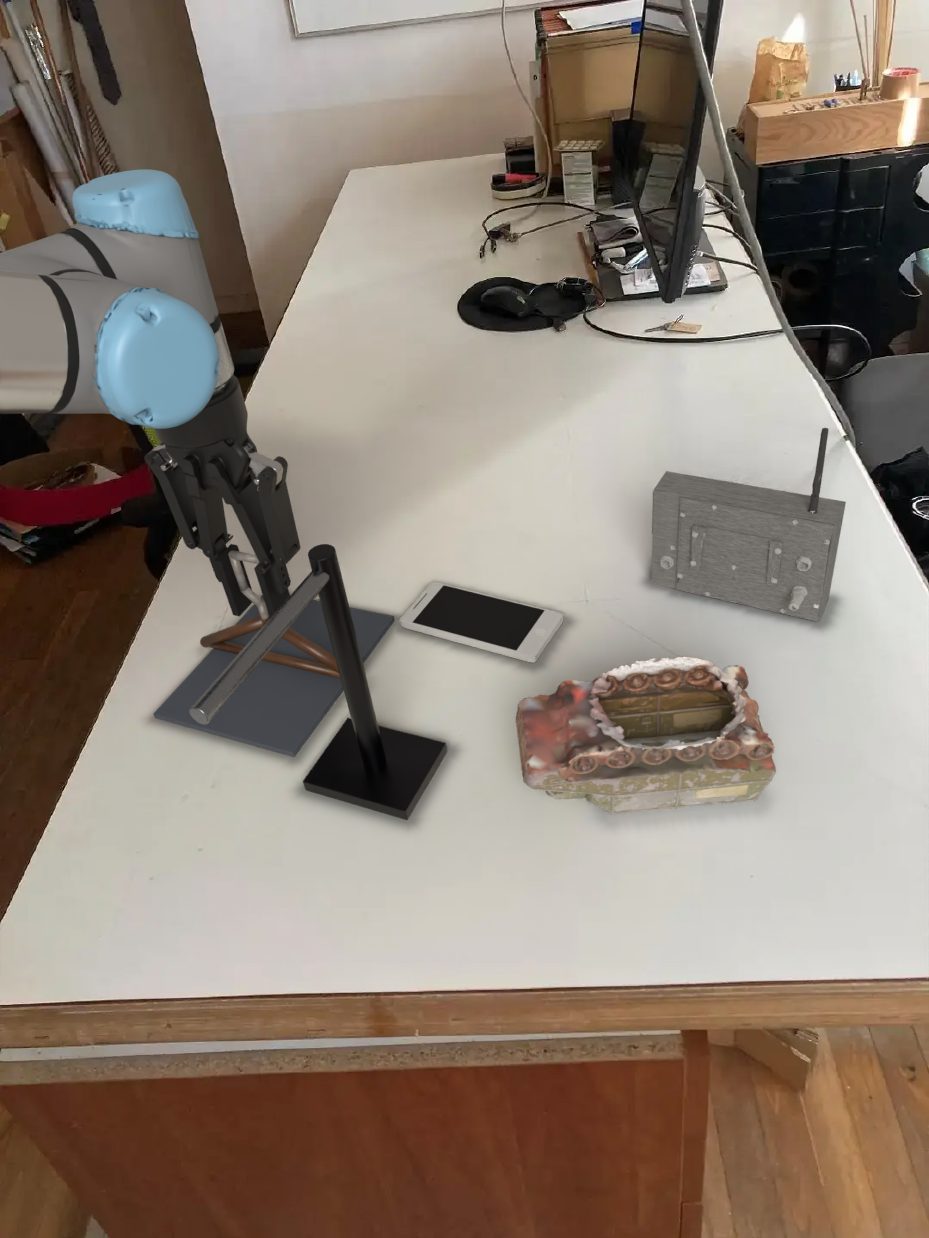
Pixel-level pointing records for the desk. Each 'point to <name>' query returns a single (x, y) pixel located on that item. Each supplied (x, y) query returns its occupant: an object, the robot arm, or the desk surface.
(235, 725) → the felt mat
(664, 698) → the decorative box
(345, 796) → the rail stand
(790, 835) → the desk surface
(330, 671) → the hanger
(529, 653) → the smartphone
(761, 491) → the electronic device
